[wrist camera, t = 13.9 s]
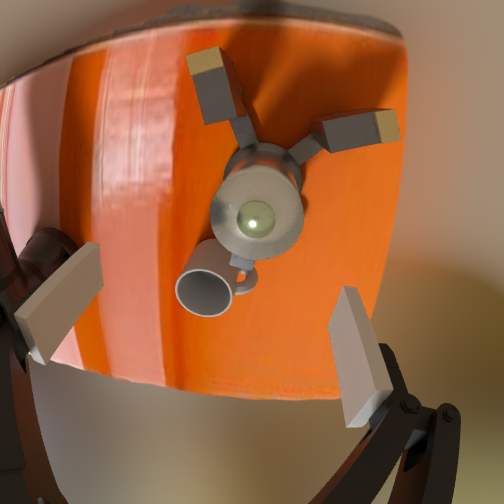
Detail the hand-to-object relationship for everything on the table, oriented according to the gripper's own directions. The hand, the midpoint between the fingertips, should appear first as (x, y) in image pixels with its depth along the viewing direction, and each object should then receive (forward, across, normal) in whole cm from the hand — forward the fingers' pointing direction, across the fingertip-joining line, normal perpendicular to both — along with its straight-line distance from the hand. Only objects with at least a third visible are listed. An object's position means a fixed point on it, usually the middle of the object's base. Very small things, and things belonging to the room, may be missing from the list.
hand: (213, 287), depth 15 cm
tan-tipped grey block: (+25, +10, +9) cm, 28 cm away
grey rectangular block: (+25, -4, +11) cm, 28 cm away
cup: (+26, -2, -13) cm, 29 cm away
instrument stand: (+25, +2, +1) cm, 25 cm away
